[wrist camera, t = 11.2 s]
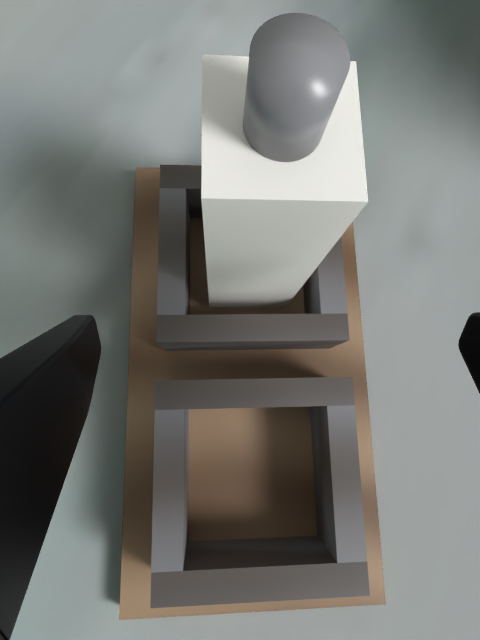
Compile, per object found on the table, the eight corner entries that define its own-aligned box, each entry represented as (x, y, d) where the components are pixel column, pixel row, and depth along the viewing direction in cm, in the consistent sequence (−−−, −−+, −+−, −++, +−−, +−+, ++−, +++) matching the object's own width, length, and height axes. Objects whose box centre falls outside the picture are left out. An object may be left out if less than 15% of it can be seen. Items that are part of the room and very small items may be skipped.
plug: (285, 307, 20) (409, 148, 7) (209, 307, 20) (197, 141, 7) (283, 235, 21) (389, -22, 8) (209, 235, 20) (199, -32, 8)
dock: (376, 593, 18) (420, 646, 14) (124, 607, 18) (98, 667, 14) (342, 181, 23) (369, 135, 19) (139, 177, 22) (122, 130, 18)
